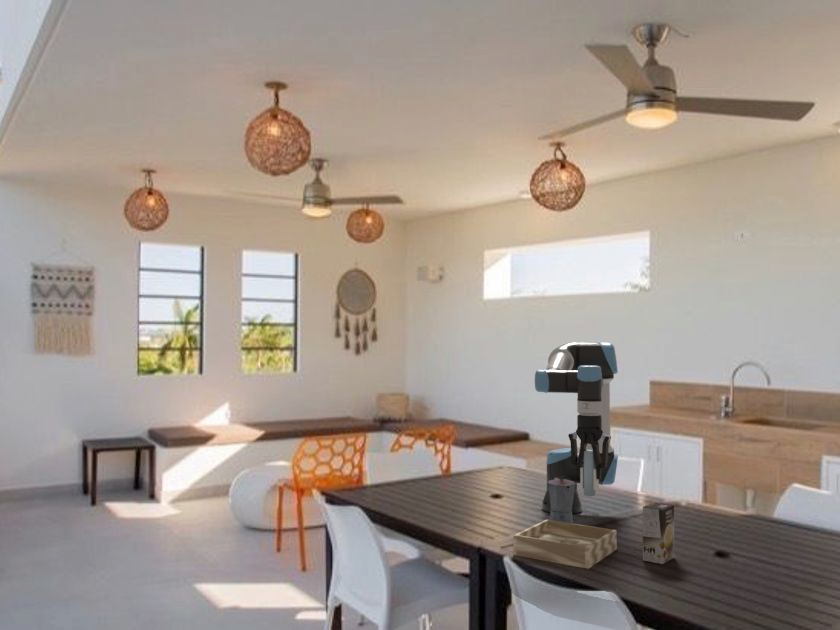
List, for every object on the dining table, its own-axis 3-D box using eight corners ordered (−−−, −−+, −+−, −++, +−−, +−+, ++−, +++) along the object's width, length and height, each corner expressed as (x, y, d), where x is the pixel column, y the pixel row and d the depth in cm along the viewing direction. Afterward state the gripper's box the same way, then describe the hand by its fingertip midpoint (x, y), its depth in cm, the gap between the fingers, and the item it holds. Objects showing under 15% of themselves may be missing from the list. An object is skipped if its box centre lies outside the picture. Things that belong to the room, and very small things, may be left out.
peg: (586, 493, 242) (586, 449, 242) (597, 494, 240) (596, 450, 240) (582, 495, 239) (582, 450, 239) (593, 496, 237) (593, 451, 237)
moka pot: (557, 539, 250) (557, 478, 250) (537, 527, 265) (537, 470, 265) (583, 537, 252) (583, 477, 253) (562, 526, 267) (562, 469, 268)
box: (546, 537, 251) (546, 519, 252) (616, 549, 238) (616, 530, 238) (513, 554, 232) (513, 535, 232) (588, 568, 218) (588, 547, 218)
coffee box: (663, 564, 222) (662, 509, 223) (642, 560, 226) (642, 506, 227) (674, 557, 229) (674, 504, 230) (654, 554, 233) (654, 501, 234)
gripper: (560, 413, 241) (560, 487, 241) (611, 416, 232) (611, 493, 232) (568, 411, 248) (568, 483, 247) (618, 414, 239) (619, 489, 238)
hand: (589, 488), depth 239 cm, fingers closed on peg, 3 cm apart
